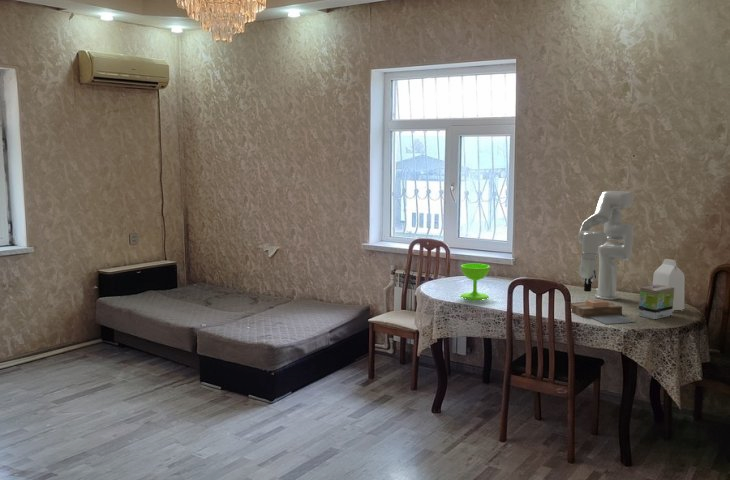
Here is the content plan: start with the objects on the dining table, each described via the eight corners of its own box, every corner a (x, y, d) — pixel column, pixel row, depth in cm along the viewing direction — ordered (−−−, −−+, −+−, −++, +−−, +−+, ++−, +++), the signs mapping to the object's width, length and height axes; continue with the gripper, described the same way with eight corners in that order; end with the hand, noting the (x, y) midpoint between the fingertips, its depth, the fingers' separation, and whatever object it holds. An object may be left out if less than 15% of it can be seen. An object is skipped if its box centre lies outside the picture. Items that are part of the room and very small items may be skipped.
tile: (586, 304, 342) (586, 300, 342) (601, 304, 344) (601, 299, 344) (592, 307, 336) (592, 302, 336) (608, 306, 338) (608, 301, 338)
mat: (589, 317, 333) (589, 316, 333) (617, 315, 337) (617, 314, 337) (605, 324, 320) (605, 323, 319) (635, 322, 323) (635, 321, 323)
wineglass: (493, 296, 379) (494, 265, 377) (482, 301, 366) (483, 269, 364) (467, 293, 388) (467, 262, 385) (455, 298, 374) (456, 266, 372)
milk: (649, 306, 355) (652, 258, 351) (666, 304, 359) (669, 257, 355) (667, 312, 344) (670, 262, 340) (684, 310, 348) (687, 260, 344)
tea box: (656, 320, 328) (658, 290, 326) (637, 316, 336) (639, 287, 334) (672, 315, 337) (674, 286, 334) (654, 311, 345) (655, 283, 342)
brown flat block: (568, 310, 347) (568, 303, 346) (605, 308, 352) (606, 300, 351) (582, 317, 333) (583, 309, 333) (621, 314, 338) (622, 306, 338)
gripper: (575, 254, 352) (573, 288, 354) (591, 258, 337) (589, 294, 339) (587, 254, 353) (585, 288, 355) (604, 258, 339) (602, 293, 341)
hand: (587, 291), depth 347 cm, fingers closed
